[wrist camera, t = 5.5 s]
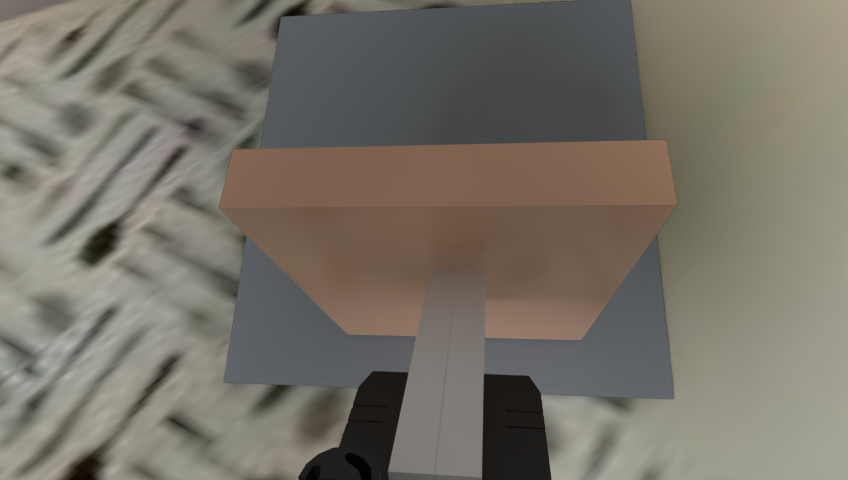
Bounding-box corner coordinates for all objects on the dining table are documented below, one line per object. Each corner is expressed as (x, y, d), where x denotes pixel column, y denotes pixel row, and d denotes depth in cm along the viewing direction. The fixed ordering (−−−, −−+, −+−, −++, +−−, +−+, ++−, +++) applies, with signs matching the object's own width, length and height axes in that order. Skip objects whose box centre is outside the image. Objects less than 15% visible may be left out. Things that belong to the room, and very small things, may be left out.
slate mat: (227, 382, 23) (223, 382, 23) (283, 21, 29) (281, 16, 29) (670, 399, 21) (674, 398, 20) (628, 3, 27) (630, -3, 27)
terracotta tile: (347, 334, 23) (218, 207, 12) (351, 297, 23) (233, 145, 12) (581, 340, 21) (677, 204, 11) (578, 301, 22) (666, 136, 11)
